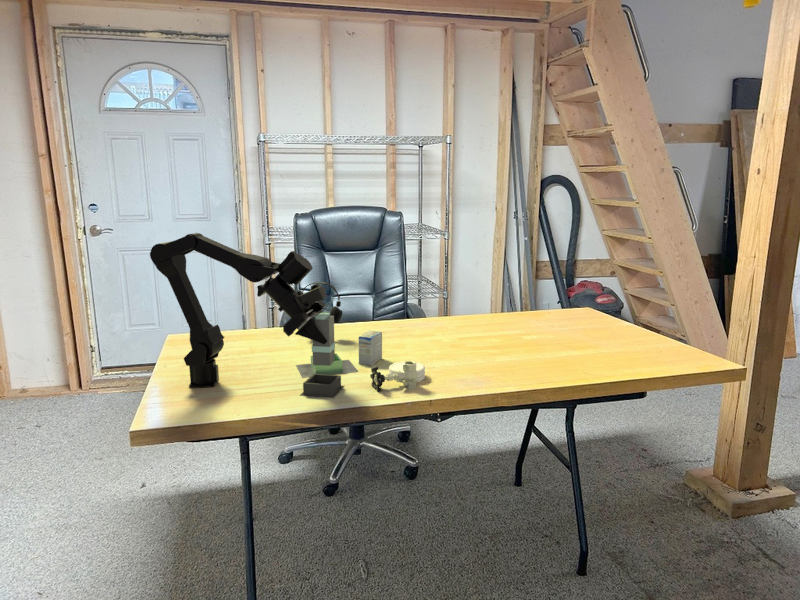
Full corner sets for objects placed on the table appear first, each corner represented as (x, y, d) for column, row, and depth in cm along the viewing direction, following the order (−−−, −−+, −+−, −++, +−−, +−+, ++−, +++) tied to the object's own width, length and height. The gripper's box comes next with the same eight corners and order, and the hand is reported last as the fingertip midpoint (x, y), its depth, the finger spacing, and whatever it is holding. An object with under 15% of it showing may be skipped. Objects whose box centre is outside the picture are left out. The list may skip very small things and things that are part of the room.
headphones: (293, 343, 190) (290, 285, 186) (303, 335, 201) (301, 280, 197) (336, 345, 188) (334, 286, 184) (344, 336, 199) (343, 281, 195)
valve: (412, 381, 154) (370, 387, 149) (412, 358, 152) (370, 363, 148) (421, 389, 148) (378, 396, 143) (422, 365, 146) (378, 371, 142)
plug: (312, 365, 144) (310, 316, 141) (317, 359, 148) (316, 312, 146) (330, 366, 143) (329, 317, 140) (335, 360, 147) (334, 313, 145)
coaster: (432, 378, 156) (432, 366, 156) (406, 387, 150) (406, 374, 149) (407, 370, 164) (407, 358, 163) (381, 378, 157) (381, 366, 156)
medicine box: (369, 357, 175) (369, 330, 174) (382, 358, 174) (382, 331, 172) (358, 364, 168) (357, 336, 167) (372, 366, 167) (371, 337, 165)
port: (302, 380, 155) (301, 367, 154) (295, 367, 166) (295, 355, 165) (358, 373, 160) (358, 361, 159) (348, 361, 171) (348, 350, 170)
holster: (299, 397, 142) (299, 384, 141) (312, 385, 150) (312, 372, 150) (333, 400, 140) (333, 386, 139) (344, 387, 148) (344, 374, 148)
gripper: (293, 281, 133) (340, 328, 133) (317, 269, 151) (358, 311, 151) (263, 312, 135) (309, 359, 136) (290, 297, 153) (330, 338, 154)
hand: (328, 340), depth 144 cm, fingers closed on plug, 4 cm apart
